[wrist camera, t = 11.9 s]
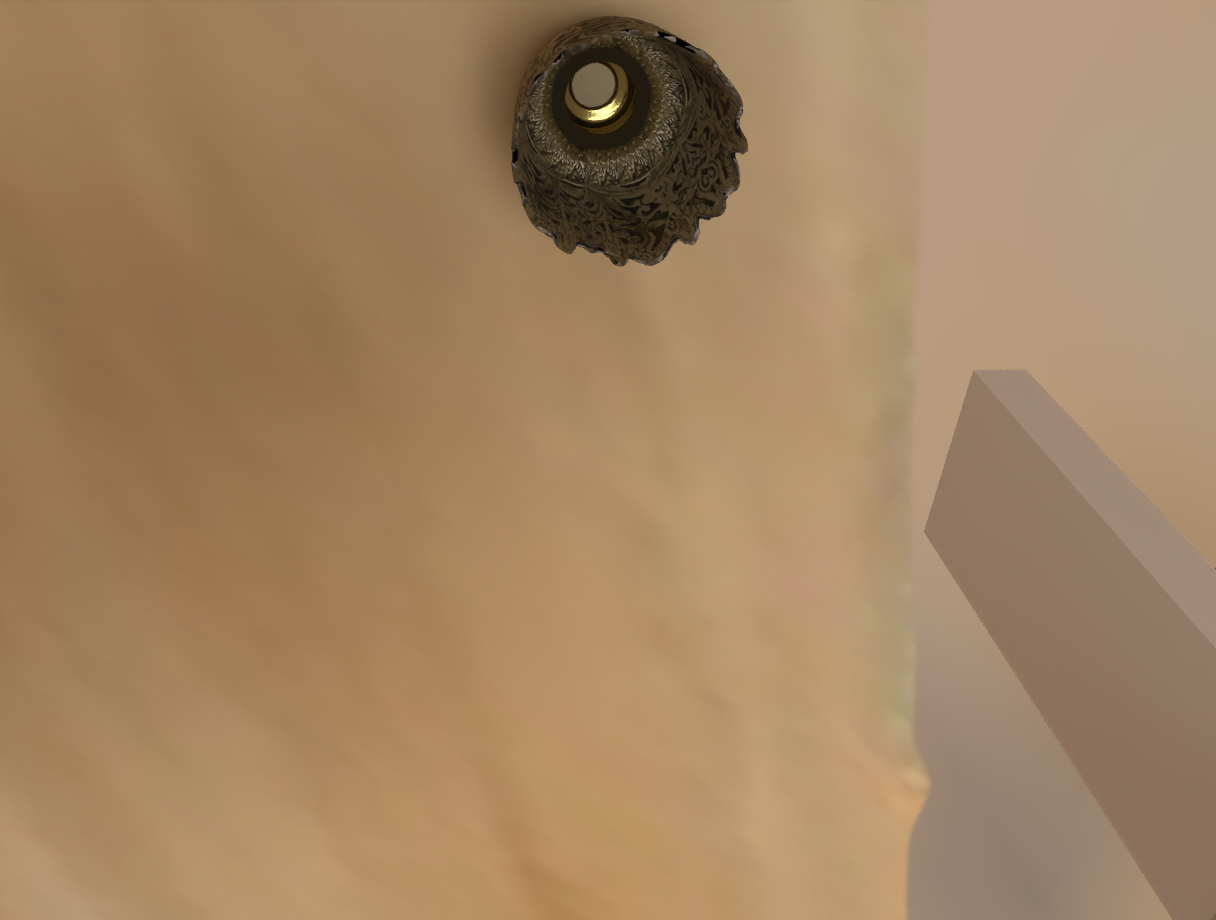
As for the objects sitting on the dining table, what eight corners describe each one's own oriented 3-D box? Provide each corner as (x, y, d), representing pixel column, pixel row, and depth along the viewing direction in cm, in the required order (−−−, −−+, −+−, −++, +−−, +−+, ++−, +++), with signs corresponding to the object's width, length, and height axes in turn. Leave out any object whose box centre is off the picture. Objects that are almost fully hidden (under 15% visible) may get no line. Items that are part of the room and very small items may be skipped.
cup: (463, 141, 40) (477, 225, 34) (536, -59, 37) (566, -8, 30) (641, 207, 43) (685, 296, 36) (725, 26, 39) (790, 90, 33)
